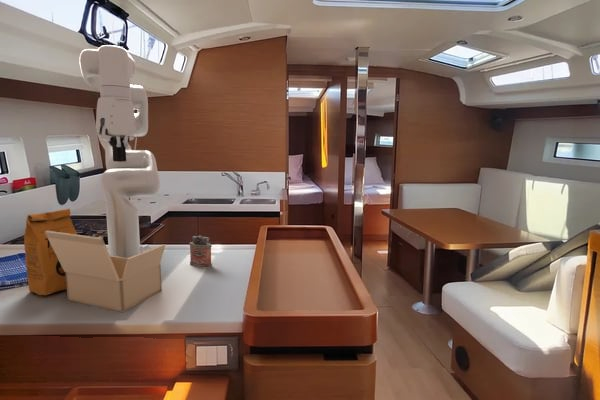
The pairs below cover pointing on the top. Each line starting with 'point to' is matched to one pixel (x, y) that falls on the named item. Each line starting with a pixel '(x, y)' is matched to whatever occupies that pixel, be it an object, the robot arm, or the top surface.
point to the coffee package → (45, 251)
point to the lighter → (200, 252)
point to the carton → (119, 282)
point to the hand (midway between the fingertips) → (119, 161)
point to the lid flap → (82, 255)
